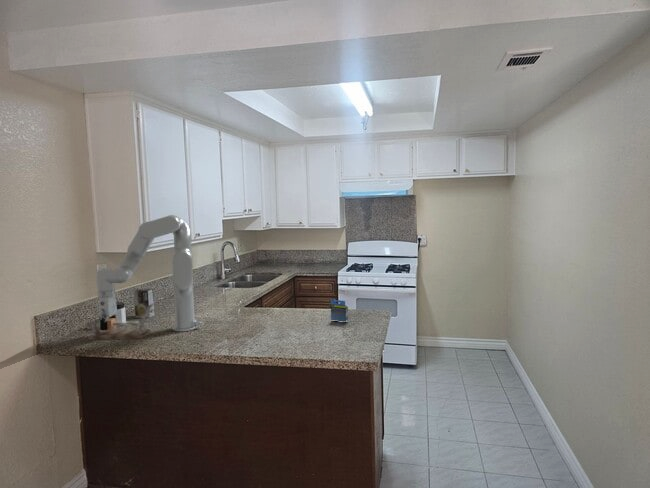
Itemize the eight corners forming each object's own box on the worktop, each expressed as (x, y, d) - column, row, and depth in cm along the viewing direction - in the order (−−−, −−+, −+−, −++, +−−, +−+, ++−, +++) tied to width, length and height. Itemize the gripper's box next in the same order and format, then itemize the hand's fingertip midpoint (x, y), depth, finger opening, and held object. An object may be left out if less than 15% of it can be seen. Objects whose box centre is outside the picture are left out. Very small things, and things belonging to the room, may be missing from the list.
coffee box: (155, 315, 252) (153, 288, 250) (149, 318, 245) (148, 290, 244) (140, 315, 253) (139, 288, 251) (134, 317, 246) (133, 290, 245)
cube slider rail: (149, 331, 217) (148, 315, 216) (142, 337, 207) (141, 321, 206) (94, 333, 215) (93, 317, 215) (84, 340, 205) (83, 323, 205)
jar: (105, 325, 230) (103, 304, 229) (118, 322, 237) (117, 301, 236) (115, 327, 226) (114, 306, 225) (129, 324, 233) (127, 302, 232)
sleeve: (116, 327, 213) (115, 318, 213) (111, 330, 208) (111, 320, 208) (105, 328, 213) (105, 318, 212) (101, 331, 208) (100, 321, 208)
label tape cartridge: (348, 321, 229) (348, 299, 228) (345, 323, 226) (345, 300, 225) (333, 320, 233) (333, 298, 232) (330, 321, 229) (330, 299, 228)
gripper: (106, 296, 201) (108, 332, 202) (121, 289, 218) (123, 322, 219) (90, 297, 200) (92, 332, 202) (106, 290, 217) (108, 322, 219)
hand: (108, 327), depth 210 cm, fingers open, 9 cm apart
